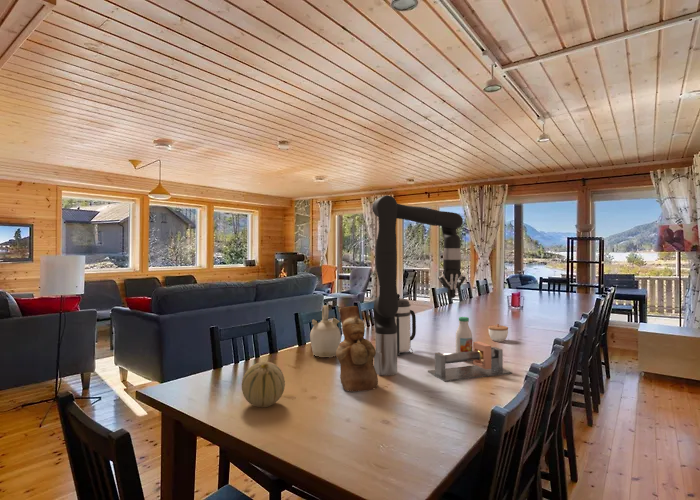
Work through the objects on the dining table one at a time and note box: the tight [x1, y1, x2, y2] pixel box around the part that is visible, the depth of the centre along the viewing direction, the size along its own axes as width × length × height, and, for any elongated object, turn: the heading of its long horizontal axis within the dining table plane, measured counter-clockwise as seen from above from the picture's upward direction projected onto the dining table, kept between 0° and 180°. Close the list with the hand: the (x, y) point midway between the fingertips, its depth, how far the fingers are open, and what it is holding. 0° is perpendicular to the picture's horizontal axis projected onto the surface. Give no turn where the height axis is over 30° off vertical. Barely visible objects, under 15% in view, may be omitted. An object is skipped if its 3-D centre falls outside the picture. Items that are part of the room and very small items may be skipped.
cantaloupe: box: [241, 361, 286, 408], centre depth 142 cm, size 15×15×15 cm
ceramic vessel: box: [335, 305, 379, 392], centre depth 164 cm, size 16×22×30 cm
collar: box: [472, 341, 492, 369], centre depth 178 cm, size 3×8×10 cm, turn 18°
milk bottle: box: [455, 316, 473, 353], centre depth 197 cm, size 8×8×20 cm
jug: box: [309, 304, 341, 358], centre depth 208 cm, size 15×16×25 cm
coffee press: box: [395, 293, 417, 357], centre depth 212 cm, size 17×16×30 cm
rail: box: [427, 346, 513, 383], centre depth 176 cm, size 32×14×9 cm, turn 108°
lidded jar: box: [488, 323, 509, 343], centre depth 237 cm, size 11×11×9 cm
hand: (451, 297), depth 183 cm, fingers closed
